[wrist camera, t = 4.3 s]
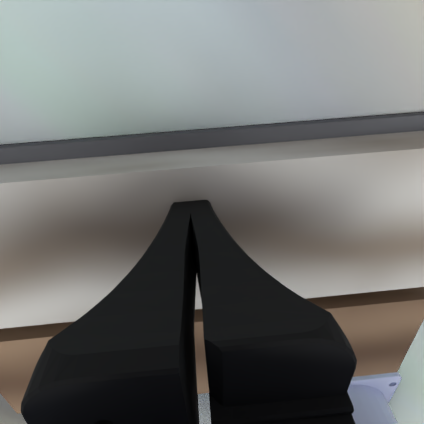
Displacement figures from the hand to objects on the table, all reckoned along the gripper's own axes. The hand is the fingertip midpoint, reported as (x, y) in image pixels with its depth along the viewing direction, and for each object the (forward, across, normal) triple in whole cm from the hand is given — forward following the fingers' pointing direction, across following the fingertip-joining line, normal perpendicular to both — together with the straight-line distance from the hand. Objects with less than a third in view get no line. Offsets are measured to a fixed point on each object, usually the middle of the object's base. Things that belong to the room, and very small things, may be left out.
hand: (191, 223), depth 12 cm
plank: (+1, 0, +1) cm, 2 cm away
